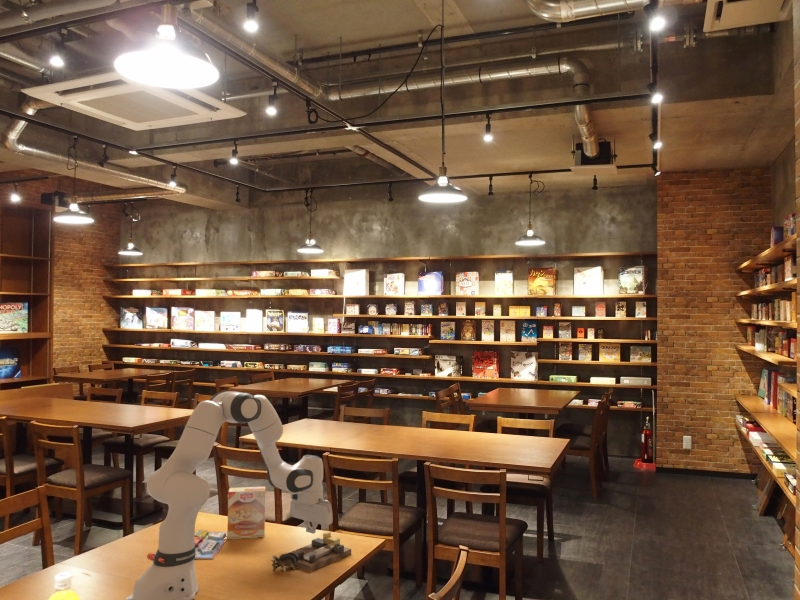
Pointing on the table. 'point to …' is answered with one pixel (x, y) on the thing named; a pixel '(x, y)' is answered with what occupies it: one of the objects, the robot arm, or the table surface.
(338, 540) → the brass bolt
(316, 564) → the base
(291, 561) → the eagle figurine
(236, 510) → the coffeecake box
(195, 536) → the puzzle board
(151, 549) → the table surface
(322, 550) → the bar
